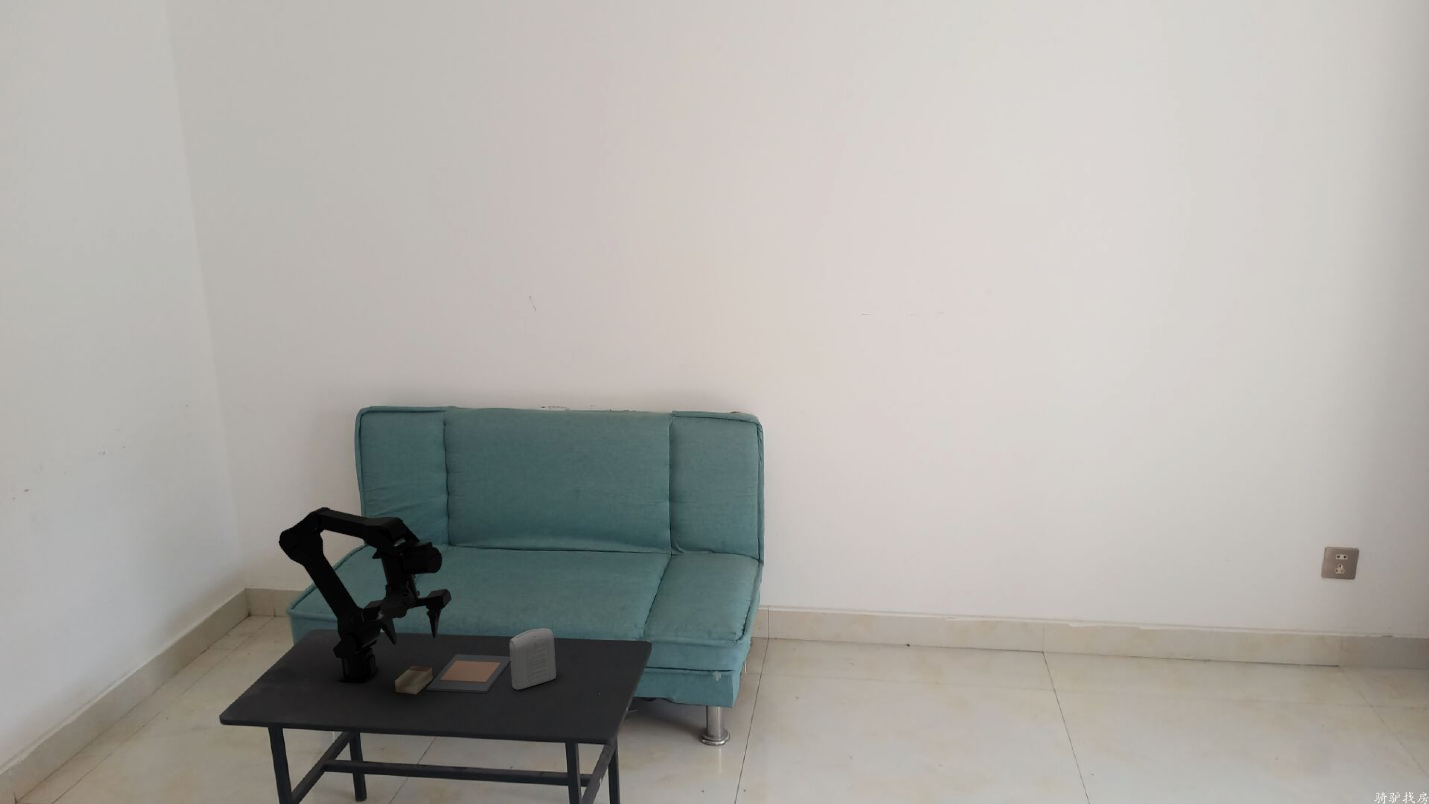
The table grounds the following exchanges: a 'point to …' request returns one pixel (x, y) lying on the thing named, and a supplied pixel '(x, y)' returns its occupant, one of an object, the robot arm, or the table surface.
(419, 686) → the tan beveled box
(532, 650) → the grey rounded block
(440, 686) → the rubber mat
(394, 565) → the robot arm
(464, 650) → the table surface
